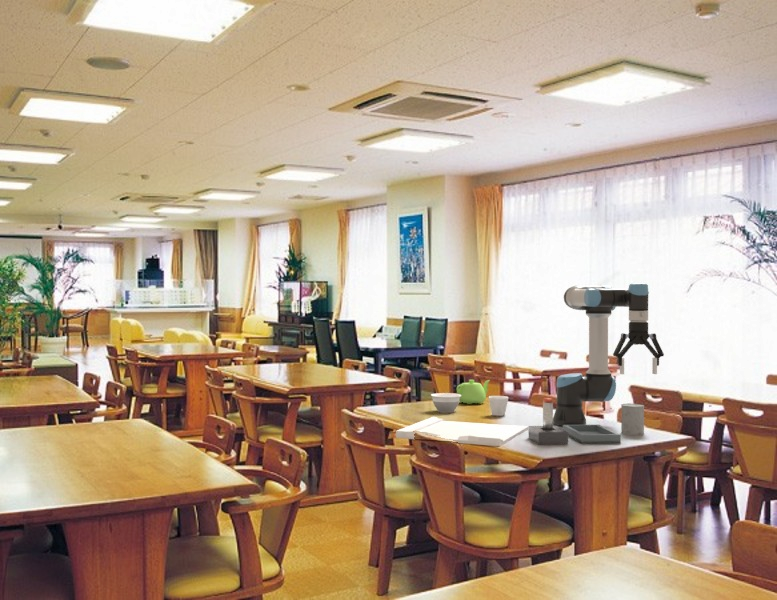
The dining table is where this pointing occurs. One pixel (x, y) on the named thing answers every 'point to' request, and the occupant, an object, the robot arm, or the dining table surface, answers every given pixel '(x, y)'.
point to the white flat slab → (463, 431)
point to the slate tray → (592, 434)
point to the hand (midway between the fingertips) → (638, 374)
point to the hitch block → (548, 435)
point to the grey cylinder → (632, 419)
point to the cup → (498, 405)
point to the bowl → (446, 401)
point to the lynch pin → (547, 414)
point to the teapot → (472, 392)
